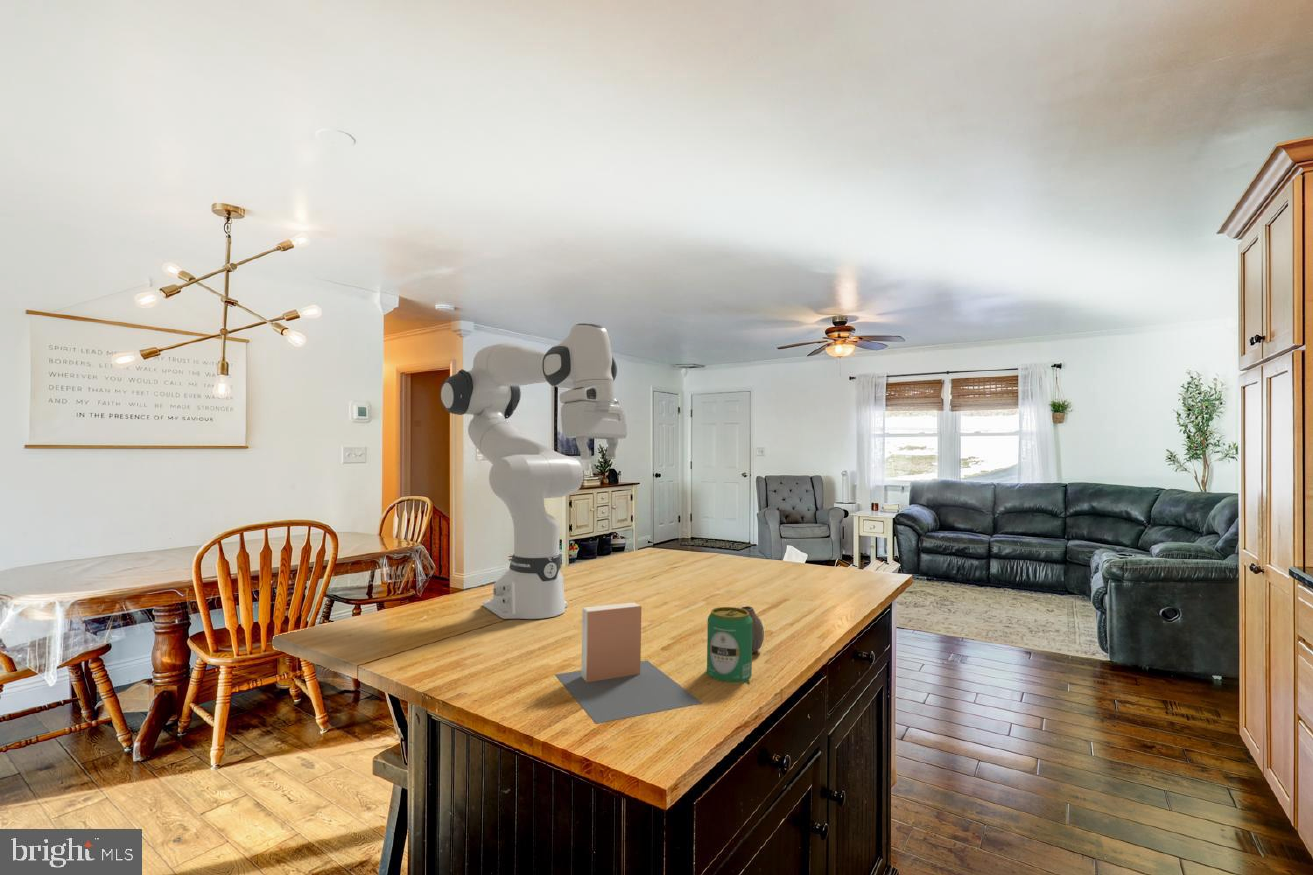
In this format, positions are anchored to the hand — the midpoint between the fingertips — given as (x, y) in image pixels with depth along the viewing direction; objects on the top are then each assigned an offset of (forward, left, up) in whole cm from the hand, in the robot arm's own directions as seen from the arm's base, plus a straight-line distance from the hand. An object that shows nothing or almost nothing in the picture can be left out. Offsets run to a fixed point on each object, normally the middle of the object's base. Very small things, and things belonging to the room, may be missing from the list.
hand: (598, 459), depth 134 cm
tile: (+20, -14, -38) cm, 45 cm away
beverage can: (+34, +2, -39) cm, 52 cm away
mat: (+27, -16, -39) cm, 49 cm away
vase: (+27, +17, -39) cm, 50 cm away
